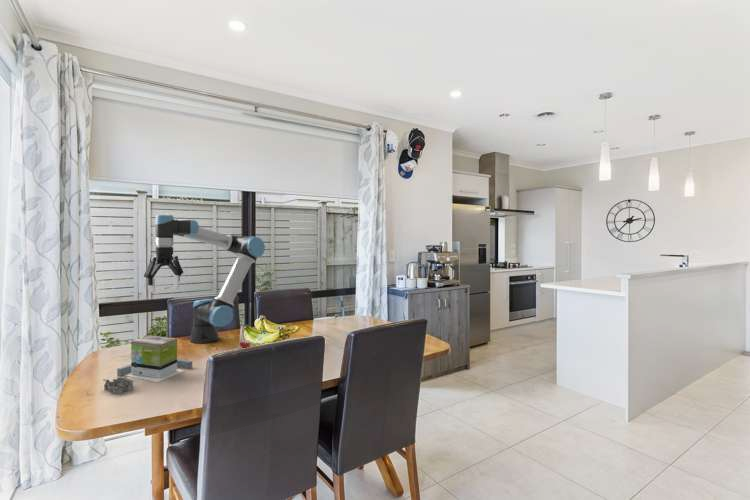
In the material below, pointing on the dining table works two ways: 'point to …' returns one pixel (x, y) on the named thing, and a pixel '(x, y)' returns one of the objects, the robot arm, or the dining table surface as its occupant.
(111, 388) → the egg carton
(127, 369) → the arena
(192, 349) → the dining table surface
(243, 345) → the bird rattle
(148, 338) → the tea box
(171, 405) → the dining table surface
